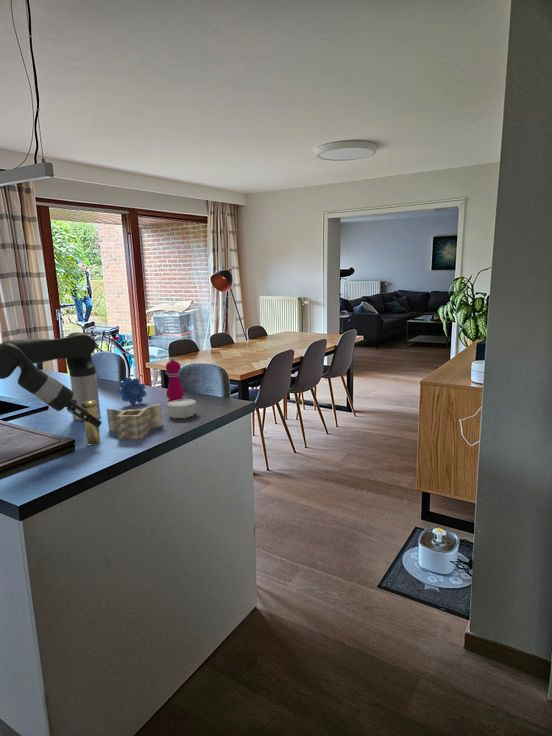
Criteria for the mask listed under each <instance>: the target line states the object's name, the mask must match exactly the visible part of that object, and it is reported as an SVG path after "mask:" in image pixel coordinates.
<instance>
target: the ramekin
mask: <svg viewBox="0 0 552 736" xmlns="http://www.w3.org/2000/svg"><path fill="white" fill-rule="evenodd" d="M196 405H197V401H196V400H194V399H191V398H182V399H179V400H173V401H170V402H167V403H166V407H167V410H168V414H169V417H170V418H172V419H176V418H183V419H187V417H189V418H191V417H190V416H192V417H193V416H194V415H195V413H196V409H197V408H196V407H197V406H196Z"/></svg>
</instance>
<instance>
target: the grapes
mask: <svg viewBox="0 0 552 736" xmlns="http://www.w3.org/2000/svg"><path fill="white" fill-rule="evenodd" d="M145 389H146V385H145V384H144V383H142V382H141V381H140V379H139V378H137V377H134V378H131V377H129V376H127V377H126V378H125V380H124V381H123V380H121V381H120V382H119V388H118V391H117V392H118V394H119V395H120V396H122V397H121V399H122V401H124V402H128V403H130V404H131V405H135V404H136V403H139V404H141V403H143V401H144V398H145V397H147V391H146V390H145Z"/></svg>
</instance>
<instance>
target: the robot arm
mask: <svg viewBox="0 0 552 736" xmlns="http://www.w3.org/2000/svg"><path fill="white" fill-rule="evenodd" d="M96 345H97V344H96V342H95V339H94V338H93V337H92V336H91V335H89V334H87V333H85V332H84V333H83V332H81V331H80V332H78V331H76V332H72V333H70V334H68V335H67V336H66V337H60V338H49V339H48V338H22V339H13V340H6V341H3V342H1V343H0V380H4V379H8V378H9V377H10V376H12V374H13V373H14V371H15V370H16V369H17V367H19V369H20V374H19V376H18V379H17V385H19V386H20V387H21V388H22V389H24V390H26V391H27V392H28V393H30V394H32V395H33V396H35V397H36V398H37V399H38V400H40V401H41V402H43V403H44V404H45V405H47V406H49V407H51V408H52V409H53V410H55V411H57V412H60V411H62V410H63V409H64V408H66V410H67V412H68V413H70V414H71V415H72V420H73V421H77V420H78V421H80V422H83V421H84V423H85V422H89V423H91V424H92V425H94V426H95V427H99V428H100V426H101V425H102V421H101V420H99V418H100V417H101V407H100V399H99V388H98V379H97V374H96V373H97V371H96V366H95V365H94V362H93V358H92V354H93V353H94V352H95V350H96ZM62 359H65V360H66V366H67V369H68V372H69V380H70V387H71V389H70V388H69V387H67V386H66V385H65V384H63V383H61V381H59V380H57V379H55V378H54V377H51V376H50V375H48V374H47V373H46V372H44V371H42V370H41V369H39V368H38V367H37V366H36V365H35V364H39V363H41V364H42V363H44V362H49V361H55V360H62ZM88 400H96V402H97V404H96V408H97V417H98V419H97V418H95V417H94V416H92V414H90V413H88V412H87V409H85V408H84V407H83V406H82V402H84V401H88ZM86 414H87V415H88V416H87V417H86V418H84V416H85V415H86ZM78 421H77V422H78Z"/></svg>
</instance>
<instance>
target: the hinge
mask: <svg viewBox="0 0 552 736" xmlns="http://www.w3.org/2000/svg"><path fill="white" fill-rule="evenodd" d="M106 415H107V426H108V431H110V430H111V431H110V432H115V433H117V435H118V440H119V439H121V440H142V439H143V438H145V436H146V435H147V434H148V433H149V432H150V431H151V430H154V429H157V428H159V427H162V426H163V425H164V424H163V415H162V403H157V404H154V405H153V404H152V405H150V406H147V407H144V408H142V409H124V410H121V409H117V408H116V409H115V408H109V407H107V408H106Z"/></svg>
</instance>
